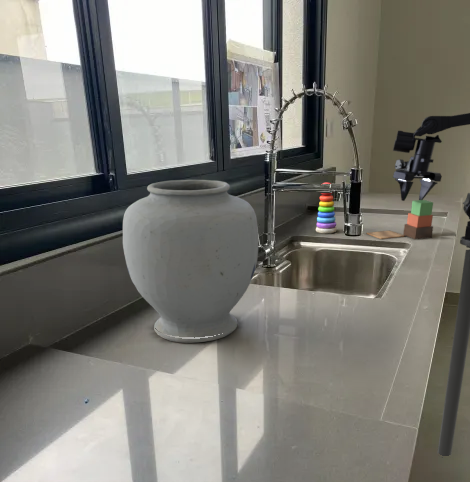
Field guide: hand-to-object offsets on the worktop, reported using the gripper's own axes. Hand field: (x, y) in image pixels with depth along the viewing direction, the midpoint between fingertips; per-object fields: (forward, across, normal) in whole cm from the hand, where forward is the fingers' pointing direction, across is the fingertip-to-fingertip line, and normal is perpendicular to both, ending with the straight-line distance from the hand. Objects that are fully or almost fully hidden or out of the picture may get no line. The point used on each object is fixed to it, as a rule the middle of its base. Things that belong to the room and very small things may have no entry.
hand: (411, 200), depth 176 cm
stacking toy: (+17, +16, -23) cm, 33 cm away
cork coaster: (+14, +3, -5) cm, 15 cm away
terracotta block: (+8, -3, +3) cm, 9 cm away
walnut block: (+12, -4, +3) cm, 13 cm away
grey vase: (+20, +101, +34) cm, 109 cm away
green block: (+4, -3, +3) cm, 6 cm away
